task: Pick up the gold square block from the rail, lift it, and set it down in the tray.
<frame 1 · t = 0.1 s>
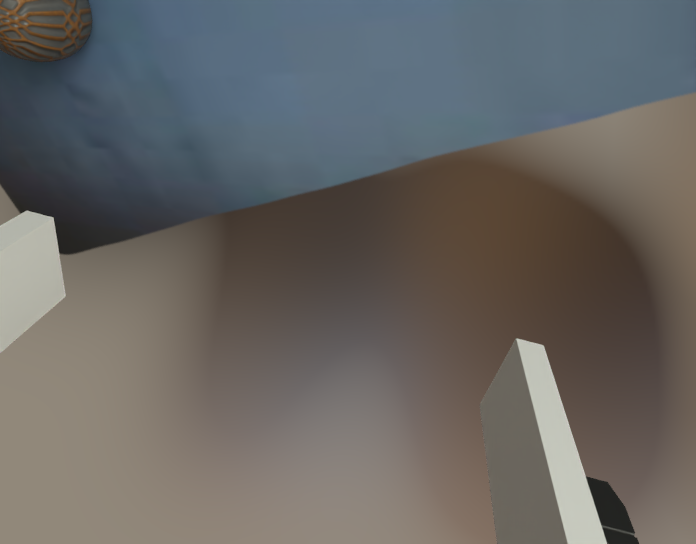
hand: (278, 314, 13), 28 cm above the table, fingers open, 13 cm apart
vase: (66, 6, 36), on the table
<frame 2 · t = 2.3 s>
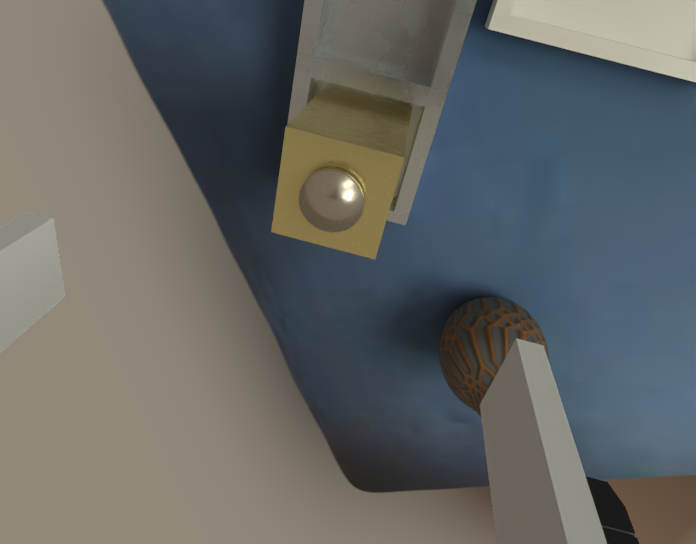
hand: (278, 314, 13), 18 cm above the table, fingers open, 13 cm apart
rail: (391, 2, 24), on the table
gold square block: (359, 138, 28), resting on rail
vase: (486, 319, 34), on the table
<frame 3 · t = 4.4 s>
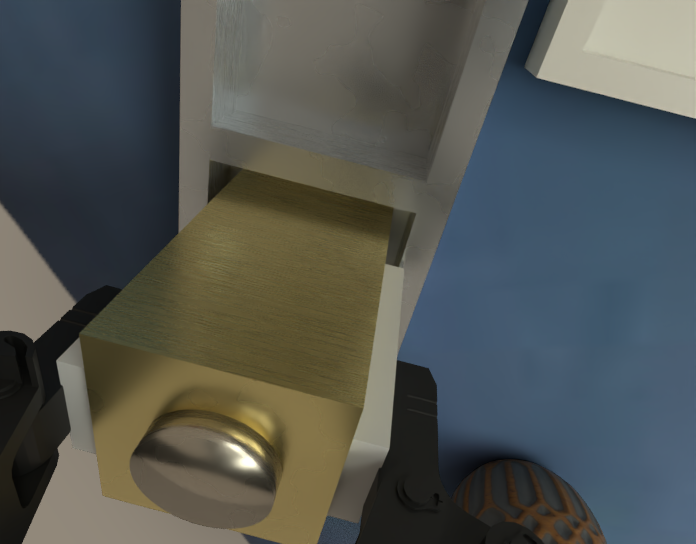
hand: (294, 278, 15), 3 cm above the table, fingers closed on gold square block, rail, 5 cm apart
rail: (354, 23, 13), on the table
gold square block: (309, 244, 17), point 1 cm above the table, touching gripper
vase: (510, 480, 23), on the table
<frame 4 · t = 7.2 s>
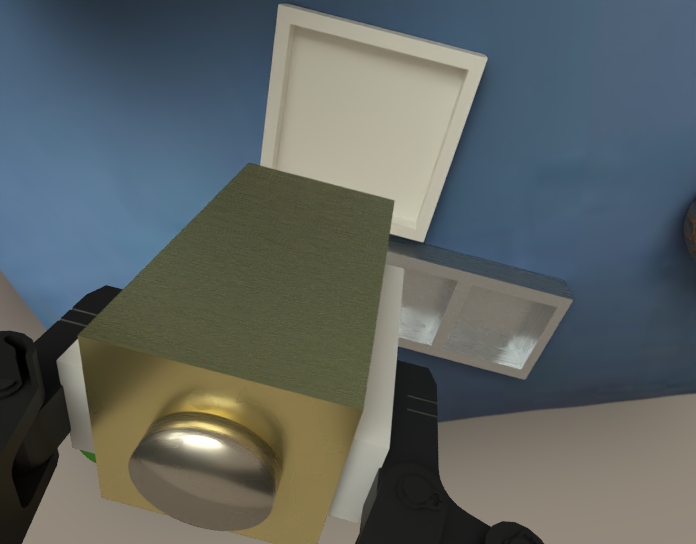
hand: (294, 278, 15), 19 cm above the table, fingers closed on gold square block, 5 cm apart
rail: (404, 285, 36), on the table
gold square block: (309, 245, 17), point 16 cm above the table, touching gripper
tray: (362, 129, 30), on the table
when the fingers open (4 cm above the table, at t = 10.1 s): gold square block drops 1 cm, resting on tray.
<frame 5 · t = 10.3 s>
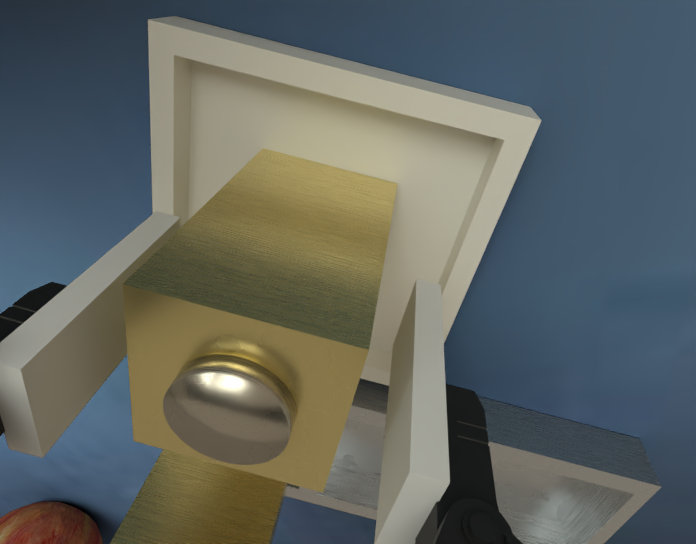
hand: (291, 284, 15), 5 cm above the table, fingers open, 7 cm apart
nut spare: (258, 405, 24), resting on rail
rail: (394, 432, 24), on the table
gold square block: (318, 226, 18), point 1 cm above the table, touching tray
tray: (320, 221, 18), on the table
fruit: (70, 512, 34), on the table
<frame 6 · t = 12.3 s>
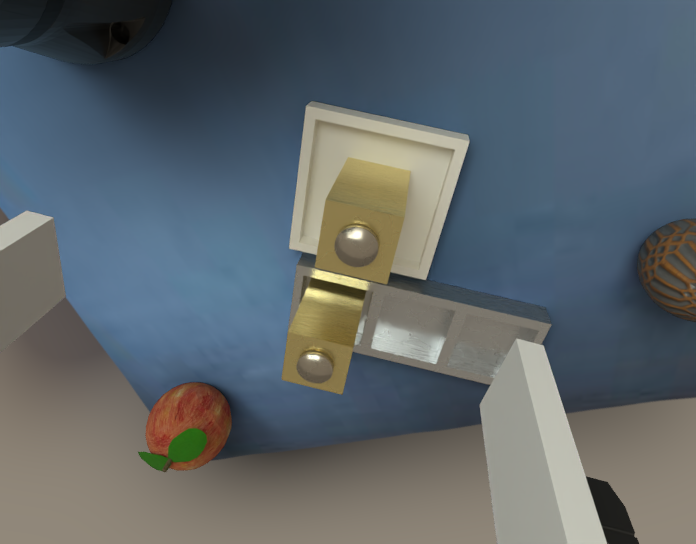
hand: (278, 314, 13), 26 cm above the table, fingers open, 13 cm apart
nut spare: (336, 299, 43), resting on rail
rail: (412, 314, 43), on the table
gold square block: (372, 193, 37), resting on tray
tray: (373, 191, 38), on the table
vase: (672, 245, 37), on the table
fruit: (206, 394, 54), on the table
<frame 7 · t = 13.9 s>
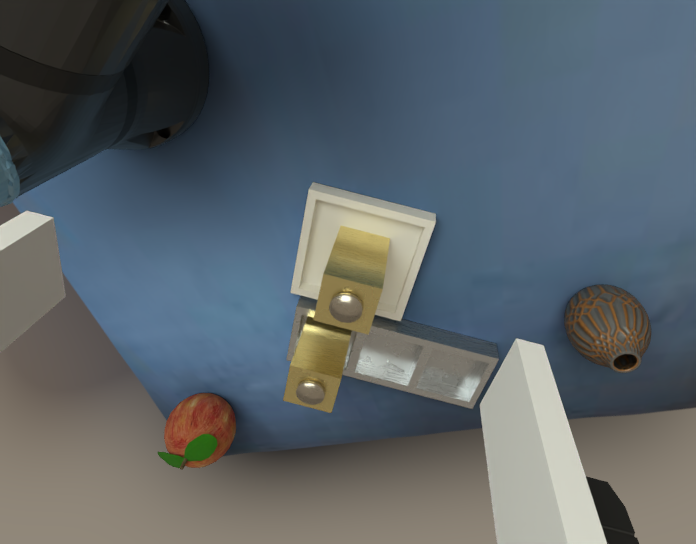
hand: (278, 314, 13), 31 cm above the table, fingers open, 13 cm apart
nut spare: (327, 331, 53), resting on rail
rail: (389, 344, 53), on the table
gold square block: (359, 253, 47), resting on tray
tray: (360, 251, 47), on the table
vase: (593, 301, 47), on the table
fruit: (213, 402, 63), on the table
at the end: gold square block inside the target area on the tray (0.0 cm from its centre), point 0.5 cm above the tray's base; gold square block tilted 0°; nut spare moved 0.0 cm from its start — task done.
